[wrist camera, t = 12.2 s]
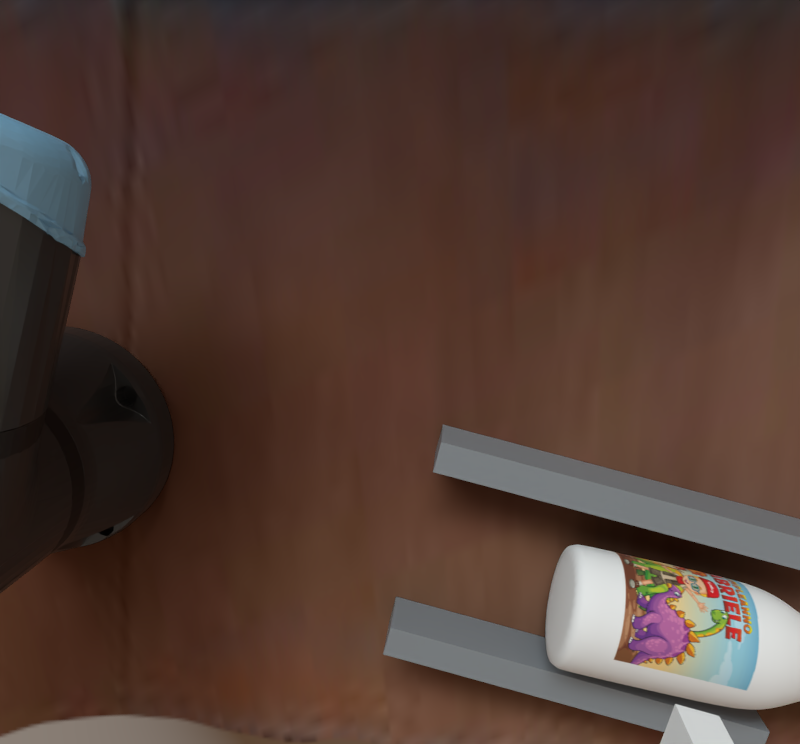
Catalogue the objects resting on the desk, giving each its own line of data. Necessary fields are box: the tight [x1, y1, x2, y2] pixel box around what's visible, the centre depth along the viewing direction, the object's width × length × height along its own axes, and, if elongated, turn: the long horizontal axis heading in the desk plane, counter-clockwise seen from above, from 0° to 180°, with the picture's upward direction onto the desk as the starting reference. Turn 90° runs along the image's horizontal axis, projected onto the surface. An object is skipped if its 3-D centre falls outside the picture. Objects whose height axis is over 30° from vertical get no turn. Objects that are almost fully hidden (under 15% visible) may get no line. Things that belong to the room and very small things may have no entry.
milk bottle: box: [545, 544, 800, 710], centre depth 44 cm, size 8×8×20 cm
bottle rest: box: [383, 425, 800, 744], centre depth 46 cm, size 25×15×4 cm, turn 76°
